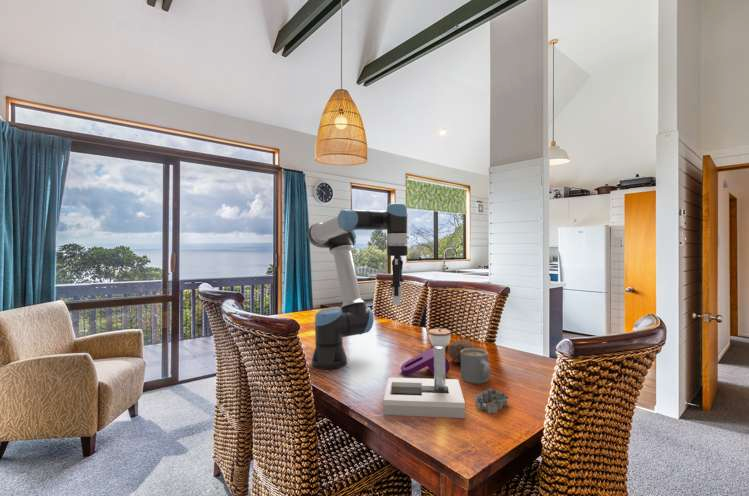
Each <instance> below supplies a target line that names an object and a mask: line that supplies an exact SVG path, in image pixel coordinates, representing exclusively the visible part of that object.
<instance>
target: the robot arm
mask: <svg viewBox="0 0 749 496" xmlns="http://www.w3.org/2000/svg"><path fill="white" fill-rule="evenodd" d="M408 216H409V215H408V206H407V204H406V203H389V204H387V207H386V210H371V209H369V210H366V209H365V210H364V209H363V210H362V209H351V208H349V209H341V210H340V211H339V213H338V215H337V216H336V217H333V218H331V219H328V220H326V221H324V222H316V223H314V224H312V225H311V226H309V228H308V229H307V234H306V235H307V238H308V239H307V240H308V242H310V244H312V246H315V247H316V248H321V249H329V253H330V255H332V256H333V258H334V263H335V268H336V274H337V279H338V283H339V289H340V294H341V299H342V305H341V306H340V307H336V306H335V307H328V308H324V309H321V310H319V311H317V312H316V313H315V317H314V332H315V348H314V350H313V353H312V357H311V366H312V367H314V368H316V369H320V370H332V369H339V368H341V367H344V366H346V364H347V363H348V359H347V358H348V357H347V354H346V351H345V349H344V345H343V338H346V337H351V336H352V337H353V336H357V335H363V334H367V333H369V332H370V331H371V330H372V328H373V325H374V318H375V317H374V312H373V310H372V308H371V307H369V306H367V305H366V301H365V300H363V299H362V297H361V292H360V287H359V282H358V277H357V272H356V268H355V263H354V259H353V254H352V252H353V250H354V247H355V245H356V241H357V240H356V239H357V234H356V231H359V230H360V231H361V230H365V231H367V230H368V231H372V230H373V231H384V230H385V231H386V230H387V232H386V233H387V234H386V243H387V245H388V246H387V248H386V249H387V250H386V251H387V256H389V257H393V259H392V261H391V266H392V267H391V270H392V283H391V284H390V287H391V288H392V305H393V306H400V305H401V300H402V299H403V282H404V281H405V280H404V278H403V265H404V260H403V259H402V258H403V257H405V256H408V246H407V244H408V240H409V239H410V236H409V235H408Z"/></svg>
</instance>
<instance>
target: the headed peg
mask: <svg viewBox="0 0 749 496" xmlns="http://www.w3.org/2000/svg"><path fill="white" fill-rule="evenodd" d="M433 347H434V346H433ZM445 356H446V348H445V347H442V346H435V347H434V375H433V379H434V393H446V379H447V378H446V375H445Z"/></svg>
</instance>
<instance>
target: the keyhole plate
mask: <svg viewBox="0 0 749 496" xmlns="http://www.w3.org/2000/svg"><path fill="white" fill-rule="evenodd" d="M394 393H395V394H394ZM413 394H415V395H413ZM416 394H418V395H416ZM419 394H421V395H419ZM383 415H384V416H402V417H403V416H405V417H406V416H407V417H426V418H427V417H428V418H430V417H431V418H452V419H453V418H456V419H458V418H459V419H466V402H465V399H464V395H463V391H462V388H461V385H460V381H459V379H457V378H456V379H455V378H454V379H452V378H451V379H450V378H446V393H434V378H419V377H388V380H387V383H386V388H385V391H384V396H383Z"/></svg>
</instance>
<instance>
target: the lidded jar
mask: <svg viewBox="0 0 749 496" xmlns="http://www.w3.org/2000/svg"><path fill="white" fill-rule="evenodd" d="M451 335H452V331H451V330H450V329H446V328H441V327H438V328H432V329H429V330H428V336H429V337H428V338H429V342H430V344H431V345H432V346H433V347H435V346H437V345H438V346H442V347H445V349H446V348H447V346H449V344H450V342H451Z"/></svg>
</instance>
